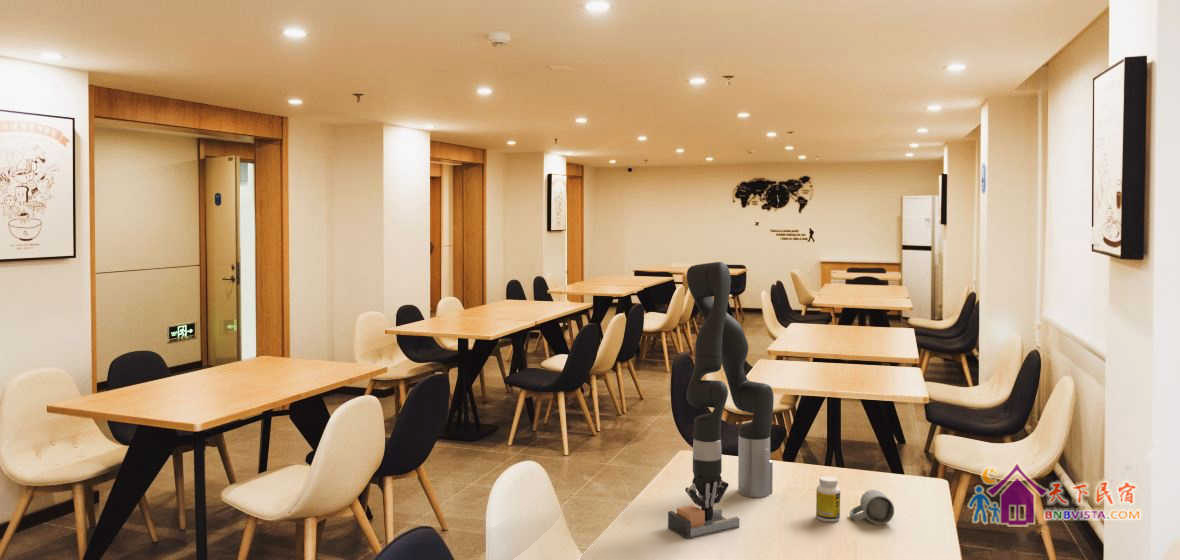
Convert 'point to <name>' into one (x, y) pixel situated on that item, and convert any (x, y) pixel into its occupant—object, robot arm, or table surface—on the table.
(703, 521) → the block
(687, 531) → the chute
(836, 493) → the pill bottle
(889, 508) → the ceramic mug
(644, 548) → the table surface
